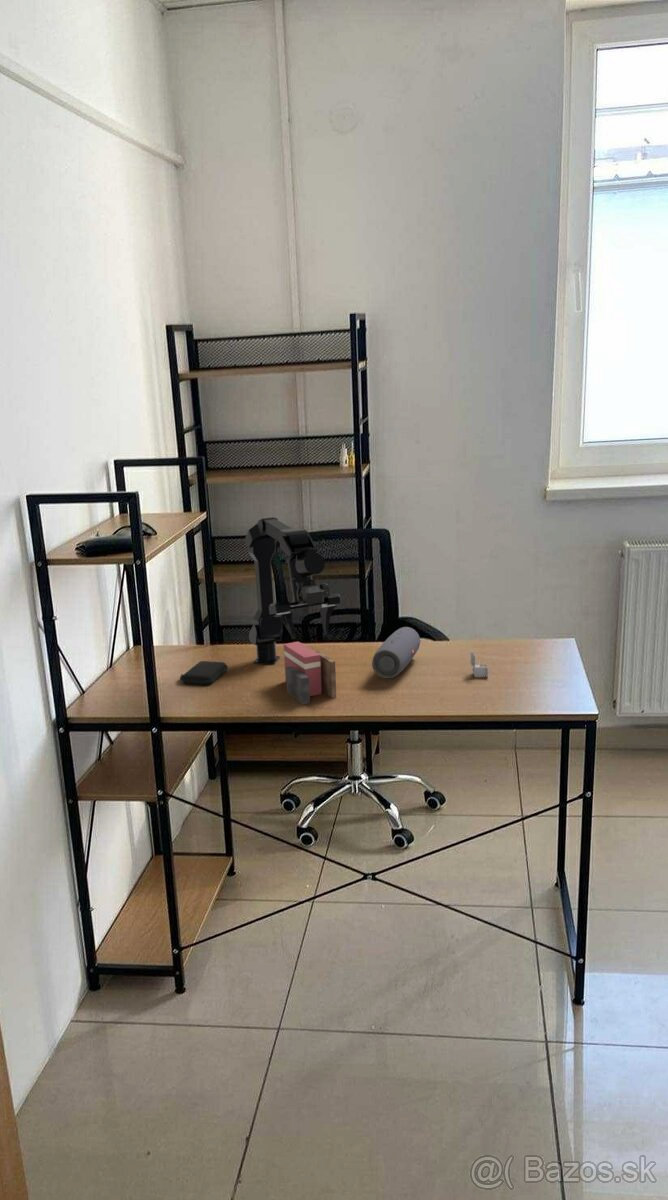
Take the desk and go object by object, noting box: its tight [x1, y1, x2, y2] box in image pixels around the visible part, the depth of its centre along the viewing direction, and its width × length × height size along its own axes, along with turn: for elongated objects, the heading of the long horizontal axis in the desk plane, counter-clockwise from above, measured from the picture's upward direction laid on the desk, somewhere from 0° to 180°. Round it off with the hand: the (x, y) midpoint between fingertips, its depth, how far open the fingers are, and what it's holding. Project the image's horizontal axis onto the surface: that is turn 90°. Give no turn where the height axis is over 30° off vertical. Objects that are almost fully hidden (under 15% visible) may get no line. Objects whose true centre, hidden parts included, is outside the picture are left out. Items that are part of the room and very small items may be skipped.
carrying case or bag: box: [179, 660, 229, 686], centre depth 258 cm, size 11×3×15 cm
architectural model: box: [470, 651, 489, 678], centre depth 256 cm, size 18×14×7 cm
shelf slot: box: [285, 650, 337, 705], centre depth 240 cm, size 10×10×10 cm
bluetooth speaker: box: [371, 626, 421, 679], centre depth 257 cm, size 23×9×10 cm, turn 161°
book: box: [283, 640, 323, 697], centre depth 245 cm, size 14×4×11 cm, turn 26°
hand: (310, 636), depth 237 cm, fingers open, 9 cm apart
